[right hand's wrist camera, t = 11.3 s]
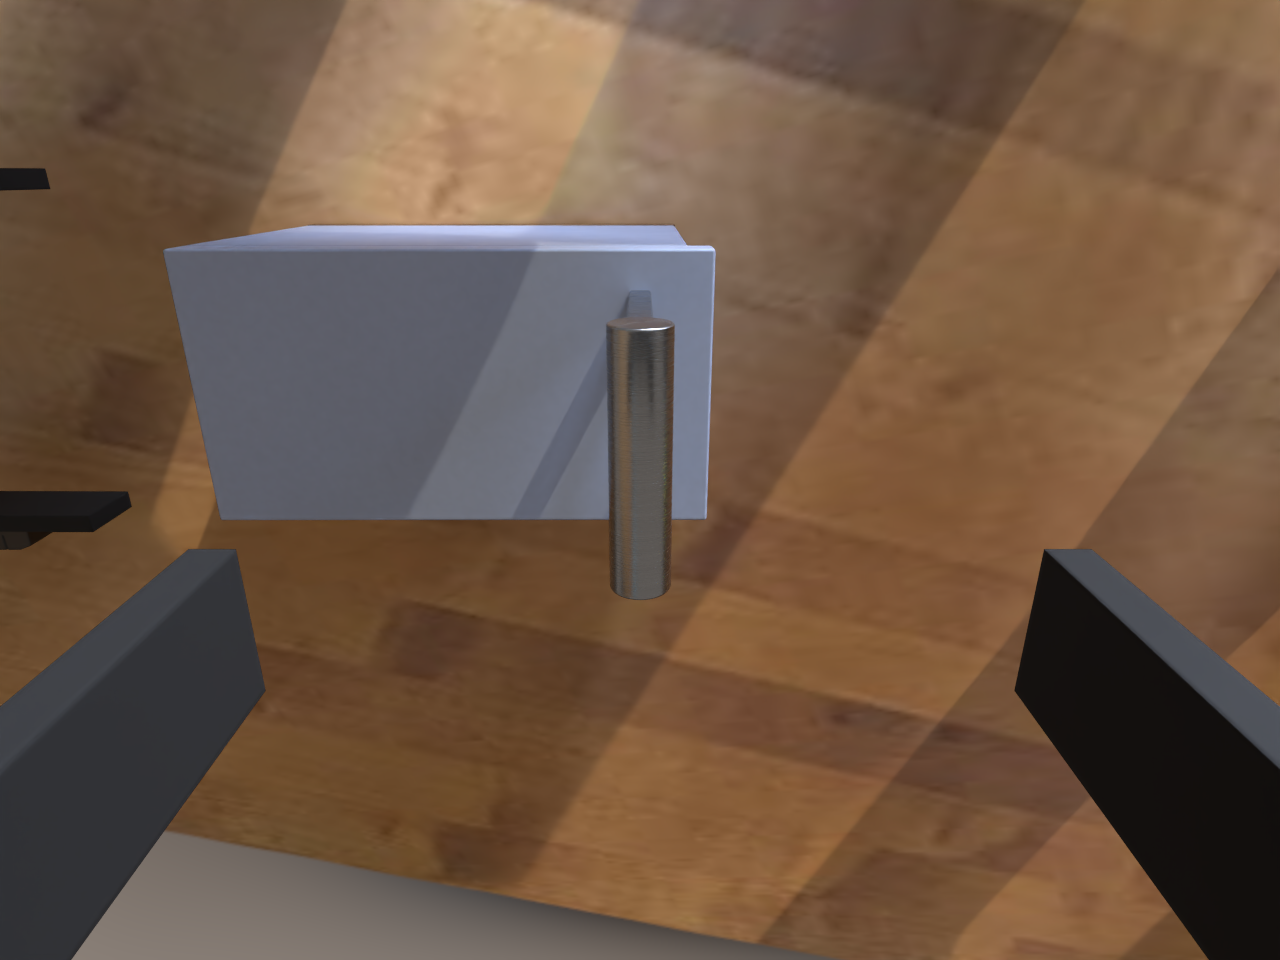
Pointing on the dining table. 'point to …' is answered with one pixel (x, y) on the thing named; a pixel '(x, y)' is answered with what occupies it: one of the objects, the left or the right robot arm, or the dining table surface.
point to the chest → (463, 235)
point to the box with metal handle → (457, 385)
